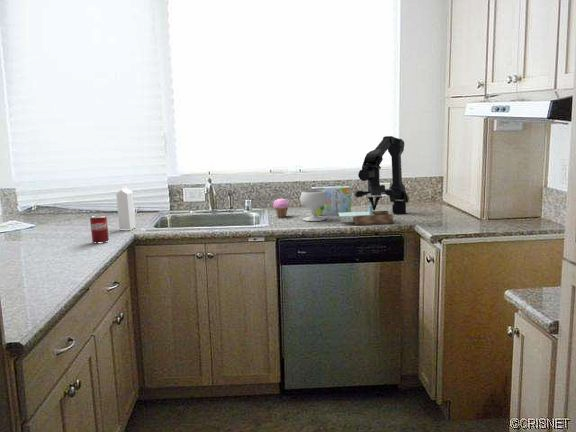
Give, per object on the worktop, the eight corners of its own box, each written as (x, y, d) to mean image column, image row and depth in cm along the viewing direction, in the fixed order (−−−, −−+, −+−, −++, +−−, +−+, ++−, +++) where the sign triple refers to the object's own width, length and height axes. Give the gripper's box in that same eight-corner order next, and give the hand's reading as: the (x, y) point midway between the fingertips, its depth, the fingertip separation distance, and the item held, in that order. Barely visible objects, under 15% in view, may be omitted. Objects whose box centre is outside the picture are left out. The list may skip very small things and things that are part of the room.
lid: (371, 212, 297) (371, 204, 296) (374, 216, 287) (374, 208, 286) (338, 213, 296) (337, 206, 296) (340, 217, 286) (339, 209, 286)
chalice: (317, 216, 315) (316, 188, 313) (333, 219, 304) (332, 190, 301) (295, 219, 308) (294, 191, 305) (311, 223, 296) (310, 193, 294)
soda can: (94, 241, 273) (92, 215, 271) (110, 240, 274) (108, 214, 272) (90, 244, 266) (88, 218, 264) (107, 243, 267) (104, 217, 265)
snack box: (350, 213, 322) (350, 185, 320) (350, 214, 317) (350, 186, 314) (312, 213, 325) (311, 186, 322) (311, 215, 319) (310, 187, 317)
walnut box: (388, 219, 298) (388, 210, 297) (392, 223, 286) (392, 214, 286) (352, 220, 298) (352, 212, 297) (355, 225, 286) (355, 216, 286)
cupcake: (289, 217, 314) (288, 199, 312) (273, 218, 314) (272, 199, 313) (289, 215, 323) (289, 197, 321) (274, 215, 323) (273, 197, 321)
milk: (119, 230, 296) (115, 187, 293) (125, 228, 302) (121, 185, 298) (130, 230, 295) (126, 187, 291) (136, 228, 301) (132, 185, 297)
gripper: (356, 181, 281) (357, 213, 283) (395, 179, 281) (396, 212, 283) (353, 178, 291) (354, 210, 294) (391, 177, 292) (391, 208, 294)
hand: (374, 210), depth 291 cm, fingers closed
